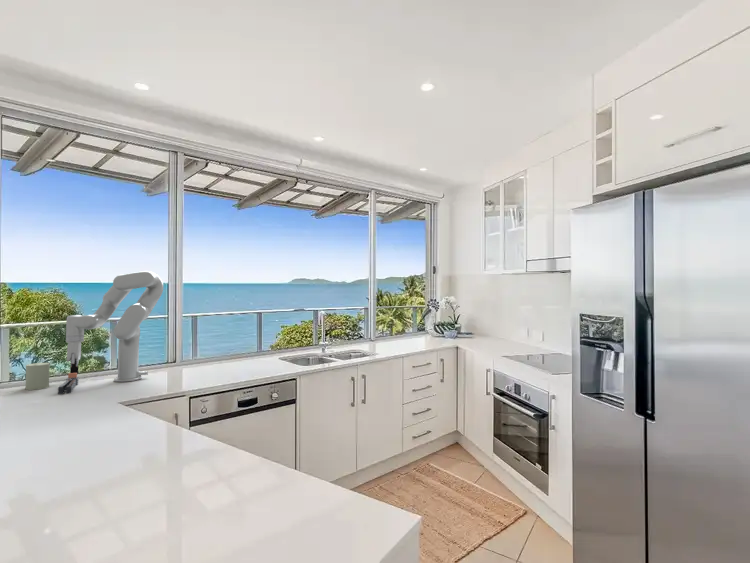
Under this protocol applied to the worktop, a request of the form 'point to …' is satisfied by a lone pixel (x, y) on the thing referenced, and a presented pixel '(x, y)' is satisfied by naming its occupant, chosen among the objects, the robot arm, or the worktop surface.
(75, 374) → the tab
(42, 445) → the worktop surface
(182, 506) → the worktop surface
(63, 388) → the bar
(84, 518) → the worktop surface
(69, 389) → the tongs fixed
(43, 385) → the can
